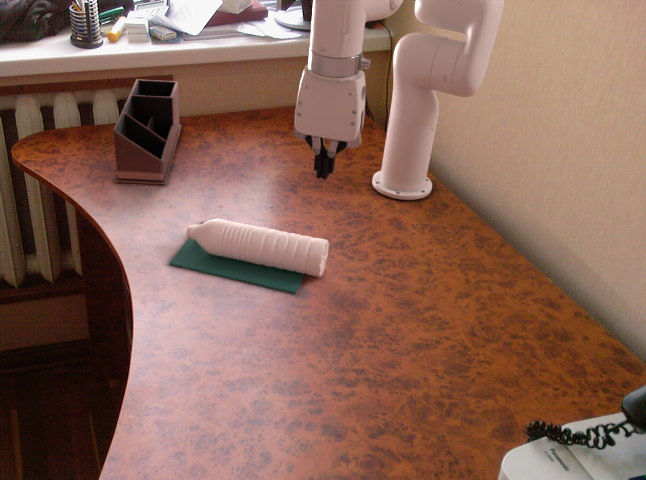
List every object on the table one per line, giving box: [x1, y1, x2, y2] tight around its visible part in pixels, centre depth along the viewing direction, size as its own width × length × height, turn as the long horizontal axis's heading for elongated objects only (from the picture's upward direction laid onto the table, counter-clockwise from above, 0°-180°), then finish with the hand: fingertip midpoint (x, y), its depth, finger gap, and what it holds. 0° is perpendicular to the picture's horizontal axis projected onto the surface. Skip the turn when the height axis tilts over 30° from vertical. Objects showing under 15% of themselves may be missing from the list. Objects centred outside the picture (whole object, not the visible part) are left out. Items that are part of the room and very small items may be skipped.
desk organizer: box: [112, 78, 182, 186], centre depth 160 cm, size 10×29×11 cm, turn 179°
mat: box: [169, 221, 307, 295], centre depth 132 cm, size 15×23×1 cm, turn 72°
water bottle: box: [186, 218, 330, 278], centre depth 130 cm, size 9×6×25 cm
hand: (323, 175), depth 118 cm, fingers closed
